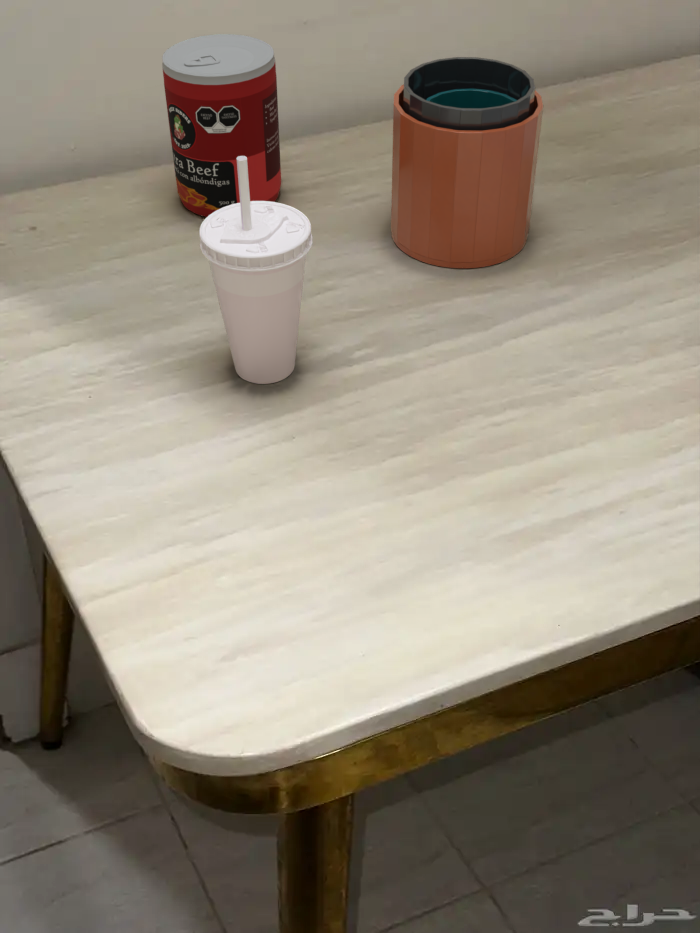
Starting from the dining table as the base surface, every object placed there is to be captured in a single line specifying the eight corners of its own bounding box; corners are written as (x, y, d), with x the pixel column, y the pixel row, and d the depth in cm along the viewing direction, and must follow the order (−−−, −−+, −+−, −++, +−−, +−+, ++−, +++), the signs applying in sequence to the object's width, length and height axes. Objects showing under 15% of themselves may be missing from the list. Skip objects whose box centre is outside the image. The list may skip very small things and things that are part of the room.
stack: (498, 192, 85) (509, 63, 78) (548, 257, 78) (566, 121, 71) (374, 209, 83) (375, 79, 76) (415, 277, 76) (420, 141, 69)
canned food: (158, 195, 85) (139, 52, 78) (241, 162, 89) (230, 24, 82) (218, 232, 81) (204, 85, 73) (302, 197, 85) (297, 54, 77)
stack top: (493, 197, 84) (506, 51, 77) (536, 253, 78) (555, 101, 71) (385, 212, 83) (387, 64, 75) (421, 271, 77) (427, 117, 69)
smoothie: (193, 362, 69) (166, 152, 60) (275, 324, 72) (262, 118, 63) (254, 411, 65) (236, 196, 56) (337, 369, 68) (334, 158, 59)
